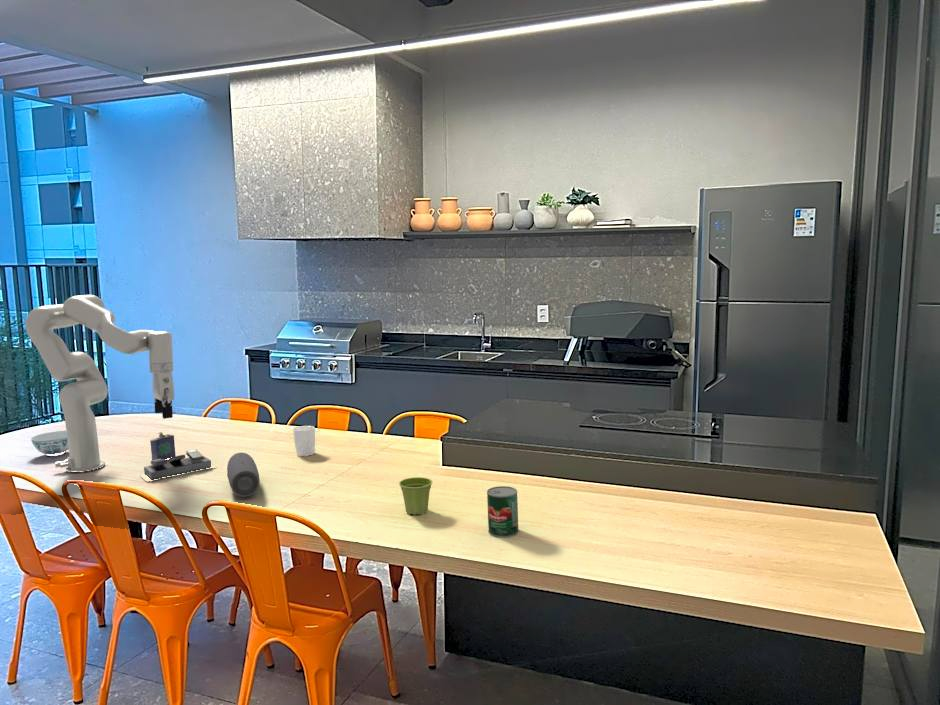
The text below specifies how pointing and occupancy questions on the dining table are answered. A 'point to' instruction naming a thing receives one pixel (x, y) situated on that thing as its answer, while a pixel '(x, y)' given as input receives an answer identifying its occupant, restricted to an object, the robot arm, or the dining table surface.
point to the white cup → (304, 440)
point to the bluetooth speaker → (243, 475)
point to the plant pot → (416, 494)
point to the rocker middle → (176, 458)
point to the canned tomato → (502, 511)
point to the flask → (163, 447)
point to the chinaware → (51, 442)
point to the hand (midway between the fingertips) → (163, 415)
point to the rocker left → (159, 462)
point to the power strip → (176, 468)
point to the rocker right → (194, 455)
